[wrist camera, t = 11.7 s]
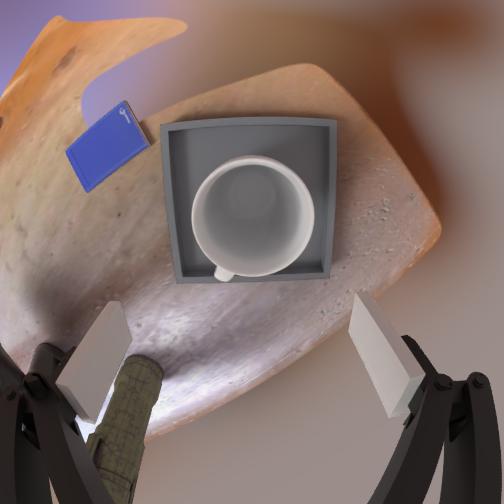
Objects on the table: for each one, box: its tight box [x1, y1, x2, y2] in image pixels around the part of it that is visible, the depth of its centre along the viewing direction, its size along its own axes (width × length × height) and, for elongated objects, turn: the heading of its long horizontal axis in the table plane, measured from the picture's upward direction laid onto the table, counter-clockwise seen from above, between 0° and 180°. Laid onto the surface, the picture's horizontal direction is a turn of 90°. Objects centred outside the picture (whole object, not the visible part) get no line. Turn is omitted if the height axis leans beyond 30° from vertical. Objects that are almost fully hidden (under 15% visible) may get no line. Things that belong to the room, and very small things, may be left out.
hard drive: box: [65, 101, 151, 193], centre depth 33 cm, size 2×8×12 cm
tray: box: [160, 117, 337, 284], centre depth 35 cm, size 22×22×3 cm
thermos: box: [86, 355, 164, 504], centre depth 33 cm, size 9×12×35 cm
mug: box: [192, 155, 315, 282], centre depth 30 cm, size 15×11×13 cm
